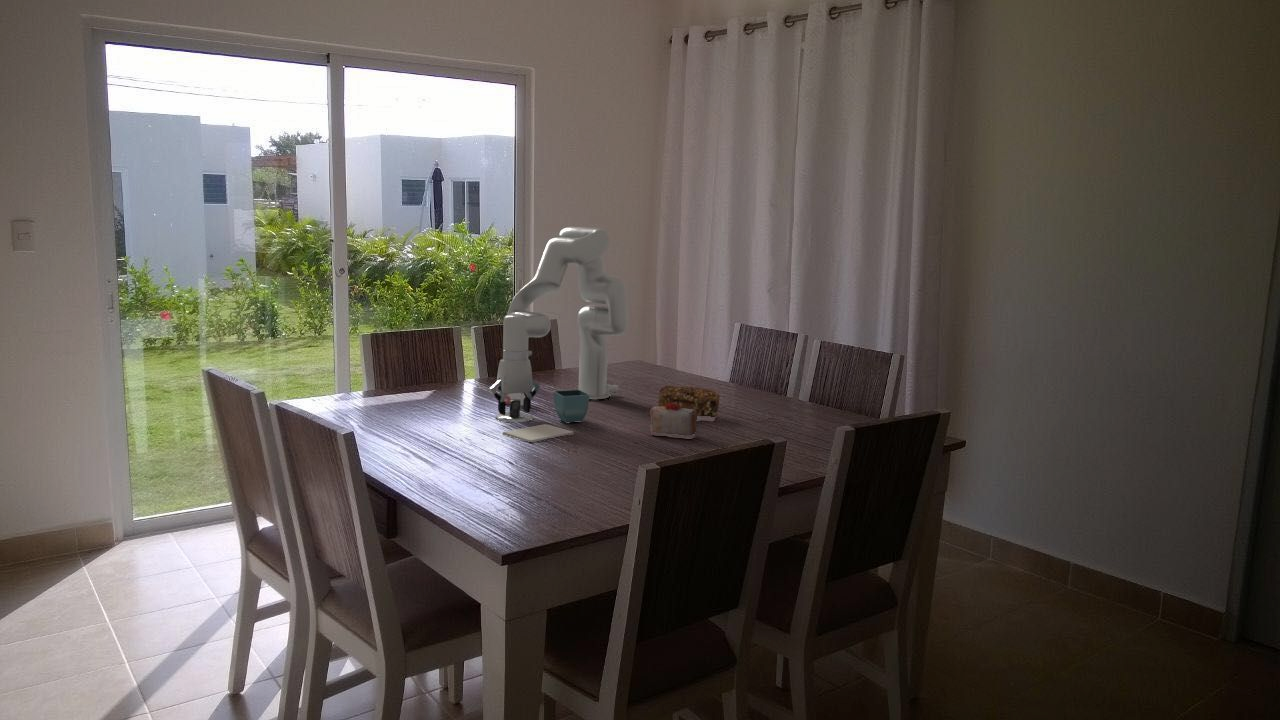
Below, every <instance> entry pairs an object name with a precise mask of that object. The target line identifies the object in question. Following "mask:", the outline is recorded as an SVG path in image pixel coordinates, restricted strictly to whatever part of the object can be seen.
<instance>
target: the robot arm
mask: <svg viewBox="0 0 1280 720" xmlns="http://www.w3.org/2000/svg"><path fill="white" fill-rule="evenodd" d="M558 235H559V236H558V237H556V236H555V237H552V238H550V239H549V240H548V241H547V242H546V245H545V248H544V249H543V253H542V255H541V257H540V261H539V264H538V267H537V269H536V272H535V275H534V276H533V278H532V279H531V280H530V281H529V282H527V283H526V284H525V285H524V286H523V287H522V288H520V290H518V292H517V293H516V294H515V295H514V297H512V301H511V302H510V304H509V307H508V310H507V314H506V315H505V316H504V317H503V327H502V328H503V329H502V331H503V334H502V339H503V340H502V359H500V360H499V363H498V369H497V374H496V375H497V377H496V382H495V383H493V384H492V385H491V386H490V387H489V389H488V391H489V392H490V394H492V396H493V397H494V398H495V399H496V400H497V401H498V403H497V410H498V412H499V413H498V414H502V415H505V413H506V411H507V410H506V407H507V406H506V405H507V404H506V403H505V402H504V400H505V398H506V396H507V394H511V393H523V394H524V396H525V398H524V400H523V405H522V406H523V408H522V409H523V411H524V413H526V414H529V413H530V411H531V408H532V407H531V405H532V400H533V398H534V396H536V395H537V392H538V391H539V390H540V388H541V385H540V384H539V383H537V382H536V381H535V380H534V379H533V372H532V370H533V369H532V365H531V359H529V357H530V356H532V355H533V352H532V350H529V339H530V338H543V337H545V336H547V335H548V334H549V332H550V331H551V328H552V323H551V322H552V321H551V319H550V317H548V316H547V314H544V313H542V312H534V311H533V312H532V311H527V309H528V308H529V307H530V306H531V304H533V302H535V301H536V300H539V299H541V298H542V297H545V296H548V295H550V294H552V293H555V292H557V291H558V290H559V289H560V287H561V285H562V283H563V280H564V279H563V278H564V277H565V273H566V271H567V268H568V266H576V268H577V269H576V270H577V277H578V279H577V280H578V290H579V295H580V297H581V299H582V300H583V301H585V302H588V303H593V304H588V305H585V306H583V307H581V308H580V309H579V311H578V314H577V325H578V326H577V327H578V332H579V333H578V335H579V354H578V355H579V357H578V358H579V361H578V363H579V365H578V389H577V390H581V391H583V392H585V393H587V394H589V395H590V396H589V399H593V398H594V399H597V398H606V397H609V396H610V397H611V393H610V392H612V391H613V392H614V391H619V390H620V389H619V385H618V384H613V385H612V384H609V383H608V382H607V378H608V372H607V371H608V350H609V349H608V342H607V340H606V337H605V336H613V337H614V336H615V337H619V336H622V335H623V334H625V333H626V331H627V329H628V325H629V314H628V313H629V312H628V299H627V297H628V296H627V289H626V285H625V283H624V281H623V280H622V278H620V277H618V276H616V275H609V274H608V275H606V274H605V272H604V265H603V260H602V256H604V254H605V253H606V252H607V250H608V249H609V247H610V242H611V239H610V235H609V233H608V232H607V231H606V230H605V229H603V228H599V227H585V226H567V227H566V226H565V227H564V228H562V229H561V230H560V231H559V234H558ZM597 304H604V305H597ZM606 305H607V306H606ZM497 391H498V392H499V393H498V392H497Z"/></svg>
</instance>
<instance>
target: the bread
mask: <svg viewBox="0 0 1280 720" xmlns="http://www.w3.org/2000/svg"><path fill="white" fill-rule="evenodd" d="M657 402H658V405H657V406H659V407H666V406H667V404H669V403H673V404H674V403H675V402H677V404H678V405H680V406H681V408H686V409H694V410H697V416H711V417H716V416H717V417H718V413H717V412H719V407H720V395H719V393H718V392H717V391H716V390H712V389H707V388H702V387H697V386H681V385H679V386H678V385H677V386H675V385H664V386H663V387H661V388H660V390H659V394H658V401H657Z"/></svg>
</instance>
